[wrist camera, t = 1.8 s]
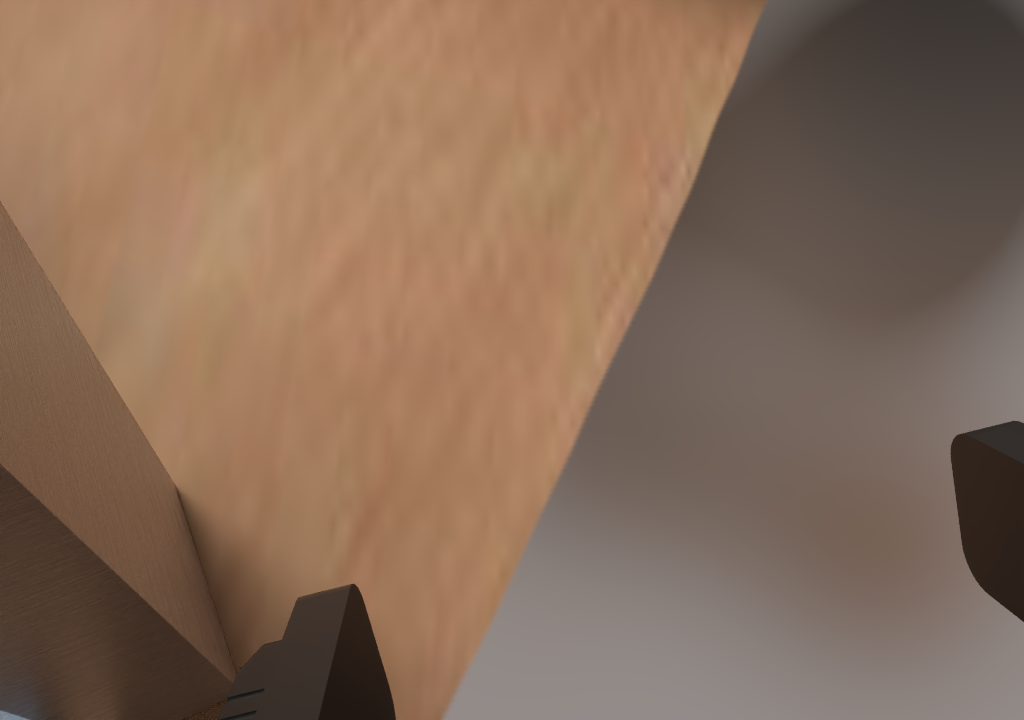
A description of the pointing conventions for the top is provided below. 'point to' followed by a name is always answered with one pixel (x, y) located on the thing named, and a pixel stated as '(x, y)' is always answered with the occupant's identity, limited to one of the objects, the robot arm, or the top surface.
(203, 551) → the top surface
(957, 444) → the robot arm
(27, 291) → the press
